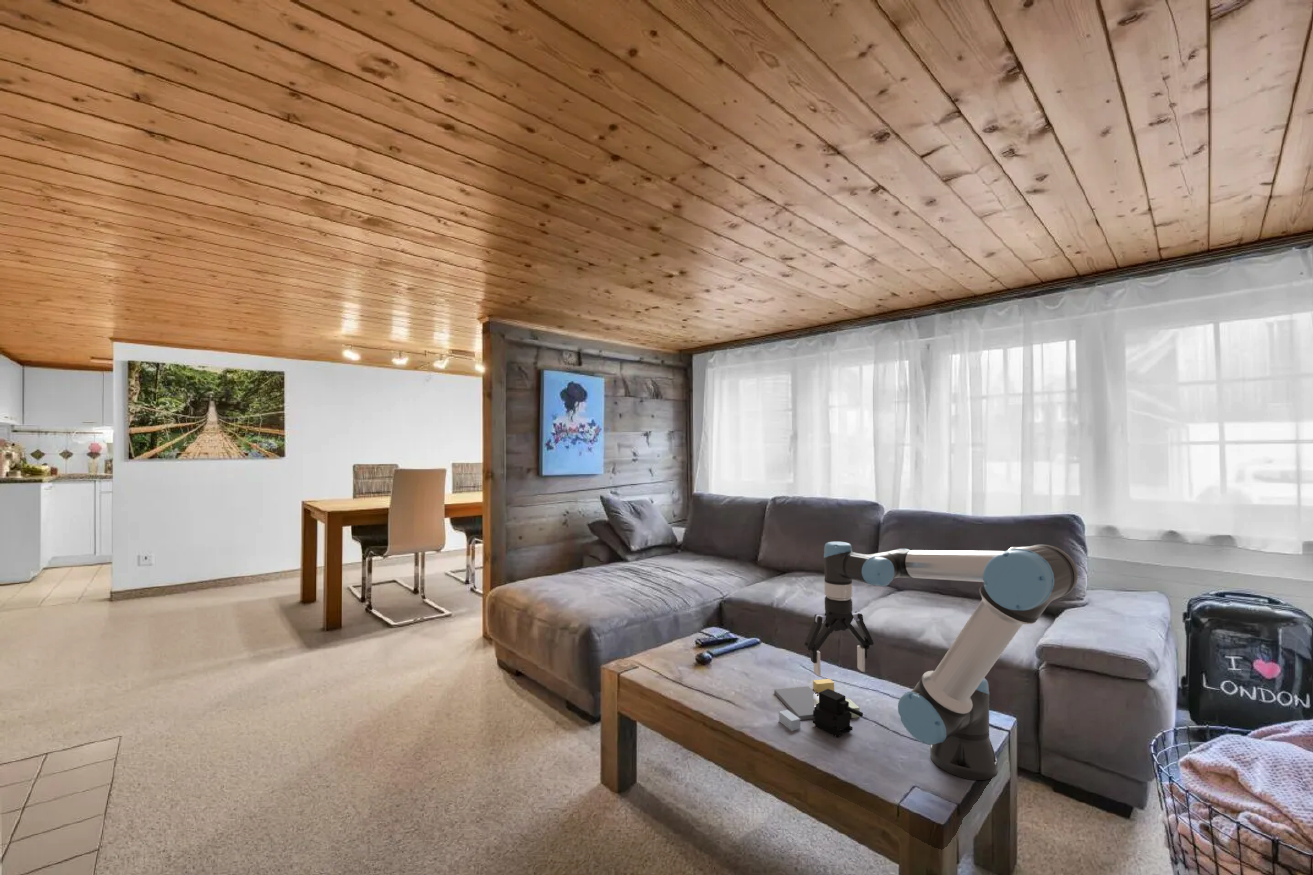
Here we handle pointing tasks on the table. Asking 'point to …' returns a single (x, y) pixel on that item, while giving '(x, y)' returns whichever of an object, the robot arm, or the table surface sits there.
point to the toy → (833, 713)
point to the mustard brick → (823, 685)
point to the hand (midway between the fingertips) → (839, 672)
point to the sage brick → (854, 706)
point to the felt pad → (798, 701)
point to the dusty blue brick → (789, 720)
